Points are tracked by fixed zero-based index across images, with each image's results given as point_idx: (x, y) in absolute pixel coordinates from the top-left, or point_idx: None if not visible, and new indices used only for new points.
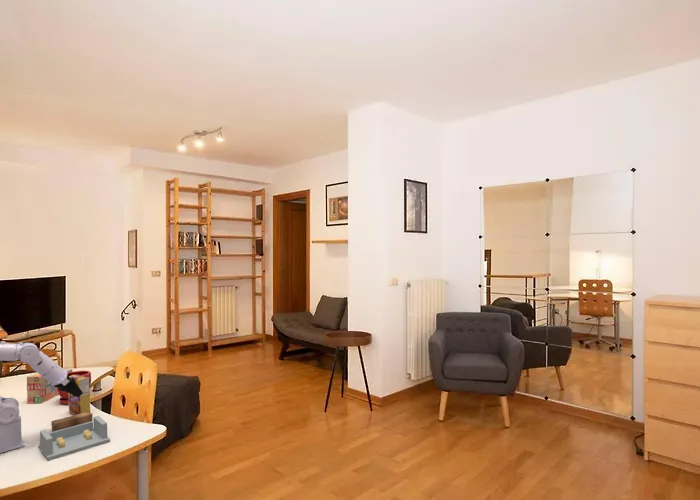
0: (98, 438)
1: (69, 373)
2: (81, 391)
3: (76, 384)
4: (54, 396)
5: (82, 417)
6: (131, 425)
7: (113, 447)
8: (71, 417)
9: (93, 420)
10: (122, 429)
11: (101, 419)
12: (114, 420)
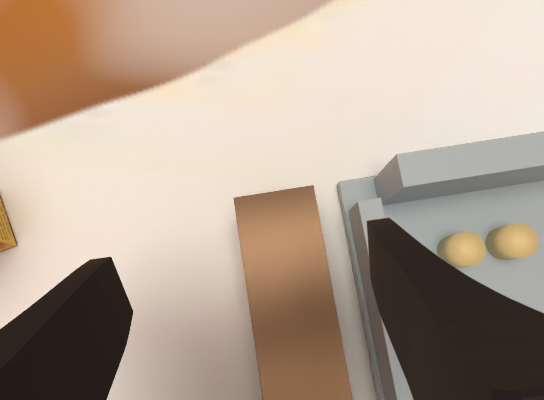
0: (527, 197)
1: None
2: (404, 231)
3: (509, 300)
4: None
5: (324, 253)
6: (379, 24)
7: None
8: (291, 327)
9: (398, 192)
10: (411, 72)
11: (500, 145)
12: (229, 86)
